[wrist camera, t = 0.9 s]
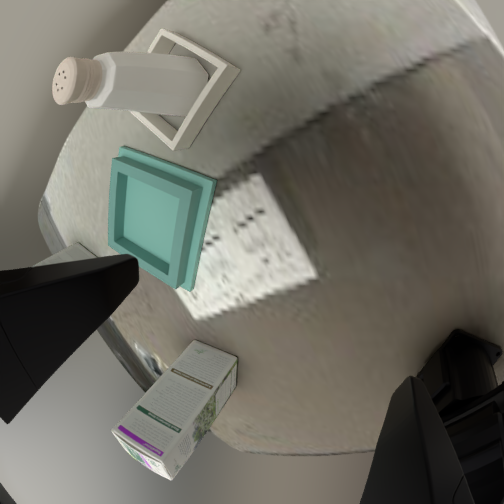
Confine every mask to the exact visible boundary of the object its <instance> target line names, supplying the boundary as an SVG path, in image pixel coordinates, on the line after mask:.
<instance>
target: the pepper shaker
mask: <svg viewBox="0 0 504 504" xmlns="http://www.w3.org/2000/svg"><path fill="white" fill-rule="evenodd" d="M208 76H209V75H208V73H207V72H206V71H205V69H204V68H203V67H202V65H201V64H200V63H199V62H198V60H197V59H196V58H193V57H186V56H177V55H168V54H156V53H141V52H108V53H104V54H101V55H97V56H95V57H94V58H93V59H92V60H90V59H85V58H84V59H83V58H81V59H78V58H75V57H68V58H66V59H64V60H63V61H62V62H61V64H60V65H59V66H58V68H57V70H56V73H55V76H54V80H53V97H54V100H55V101H56V102H57V103H58V104H59V105H65V104H68V103H71V102H72V103H76V102H82V101H85V102H86V104H87V106H88V108H97V109H113V110H125V111H136V112H145V113H153V114H161V115H170V116H184V117H186V116H187V115H188V113H189V111H190V110H191V108H192V107H193V105H194V103H195V102H196V100H197V99H198V97H199V95H200V94H201V92H202V91H203V89H204V88H205V86H206V85H207V82H208Z"/></svg>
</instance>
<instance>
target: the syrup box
mask: <svg viewBox="0 0 504 504" xmlns="http://www.w3.org/2000/svg"><path fill="white" fill-rule="evenodd" d="M237 363H238V358H237V357H235V356H233V355H231V354H228V353H226V352H224V351H221V350H219V349H217V348H214V347H211V346H209V345H206V344H204V343H202V342H199V341H196V340H193V341H192V342H191V344H190V345H189V346H188V347H187V348H186V349H185V350H184V351H183V352H182V354H181V355H180V356H179V357H178V358H177V359H176V360H175V361H174V362H173V363H172V364H171V366H170V367H169V368H168V369H167V370H166V371H165V372H164V373H163V374H162V375H161V377H160V378H159V379H158V380H157V381H156V382H155V383H154V384H153V385H152V387H151V388H150V389H149V390H148V391H147V392H146V393H145V394H144V395H143V397H141V399H140V400H139V401H138V402H137V403H136V404H135V405H134V406H133V407H132V408H131V409H130V410H129V412H128V413H127V414H126V415H125V416H124V417H123V418H122V419H121V420H120V421H119V422H118V423H117V424H116V426H115V427H114V428H113V429H112V432H113V434H114V435H115V437H116V438H117V439H118V441H119V442H120V443H121V445H122V446H123V447H124V449H125V450H126V451H127V452H128V453H129V454H130V455H131V456H132V457H133V458H134V459H135V460H137V461H138V462H139V463H141V464H142V465H144V466H145V467H147V468H148V469H150V470H152V471H154V472H155V473H157V474H159V475H161V476H163V477H166V478H167V479H169V480H173V479H174V477H175V476H176V474H177V473H178V472H179V471H180V469H181V468H182V466H183V465H184V464H185V462H186V461H187V460H188V458H189V457H190V455H191V454H192V453H193V451H194V450H195V448H196V447H197V445H198V444H199V442H200V441H201V440H202V438H203V436H204V435H205V434H206V432H207V431H208V429H209V428H210V426H211V425H212V423H213V422H214V420H215V419H216V418H217V416H218V415H219V413H220V411H221V410H222V408H223V407H224V405H225V404H226V402H227V401H228V399H229V397H230V396H231V394H232V393H233V391H234V390H235V388H236V380H237Z"/></svg>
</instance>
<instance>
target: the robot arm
mask: <svg viewBox="0 0 504 504" xmlns="http://www.w3.org/2000/svg"><path fill="white" fill-rule="evenodd" d="M138 282H139V262H138V259H137V258H136V257H134V256H132V255H130V254H121V255H113V256H106V257H98V258H91V259H84V260H77V261H69V262H62V263H55V264H48V265H41V266H35V267H28V268H20V269H13V270H2V271H0V417H1V418H2V420H4V422H5V423H7V424H8V423H10V422H11V421H12V420H13V419H14V417H15V416H16V415H17V414H18V413H19V412H20V410H21V409H22V408H23V407H24V406H25V405H26V403H27V402H28V401H29V400H30V399H31V398H32V397H33V396H34V394H35V393H36V392H37V391H38V389H40V388H41V386H42V385H43V384H44V383H45V382H46V381H47V380H48V379H49V378H50V377H51V376H52V375H53V374H54V372H55V371H56V370H57V369H58V368H59V367H60V366H61V365H62V364H63V363H64V362H65V361H66V360H67V359H68V358H69V357H70V356H71V355H72V354H73V352H75V351H76V349H77V348H79V347H80V345H81V344H82V343H83V342H84V341H85V340H86V339H87V338H88V337H89V336H90V335H91V334H92V333H93V332H94V331H95V330H96V329H97V328H98V327H100V326H101V325H102V324H103V323H104V322H105V321H106V320H107V319H108V318H109V317H110V316H111V315H112V313H113V312H114V311H115V310H116V309H117V308H118V306H119V305H120V304H121V303H122V302H123V301H124V299H125V298H126V297H127V296H128V295H129V294H130V292H131V291H132V290H133V289H134V288H135V287H136V285H137V284H138ZM456 335H458V336H457V337H455V336H456ZM497 352H498V353H497ZM501 355H502V349H501V347H499V346H497V345H494V344H492V343H490V342H487V341H485V340H483V339H480V338H478V337H476V336H473V335H471V334H469V333H466V332H464V331H462V330H459V329H457V330H454V331H453V332H452V333H451V335H450V336H449V337H448V339H447V340H446V341H445V343H444V344H443V345H442V347H441V348H440V349H439V350H438V351H437V352H436V353H435V354H434V356H433V357H432V358H431V359H430V360H429V362H428V363H427V364H426V365H425V366H424V368H423V370H422V371H421V372H420V373H419V374H418V375H417V377H414V376H409V377H407V378H406V379H405V380H404V381H403V383H402V384H401V385H400V386H399V387H398V388H397V389H396V391H395V392H394V393H393V395H392V397H391V400H390V403H389V407H388V410H387V414H386V417H385V420H384V423H383V427H382V430H381V433H380V436H379V439H378V442H377V445H376V449H375V454H374V457H373V461H372V465H371V468H370V472H369V475H368V479H367V482H366V485H365V489H364V492H363V495H362V498H361V501H360V504H504V381H503V382H502V384H501V385H499V386H498V383H497V379H496V375H495V372H494V368H493V365H494V363H495V362H496V361H497V360H498V359H499V357H500V356H501ZM0 504H16V503H15V501H14V500H13V499H12V498H11V496H10V495H9V494H8V492H7V491H6V490H5V488H4V487H3V486H2V484H1V483H0Z"/></svg>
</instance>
